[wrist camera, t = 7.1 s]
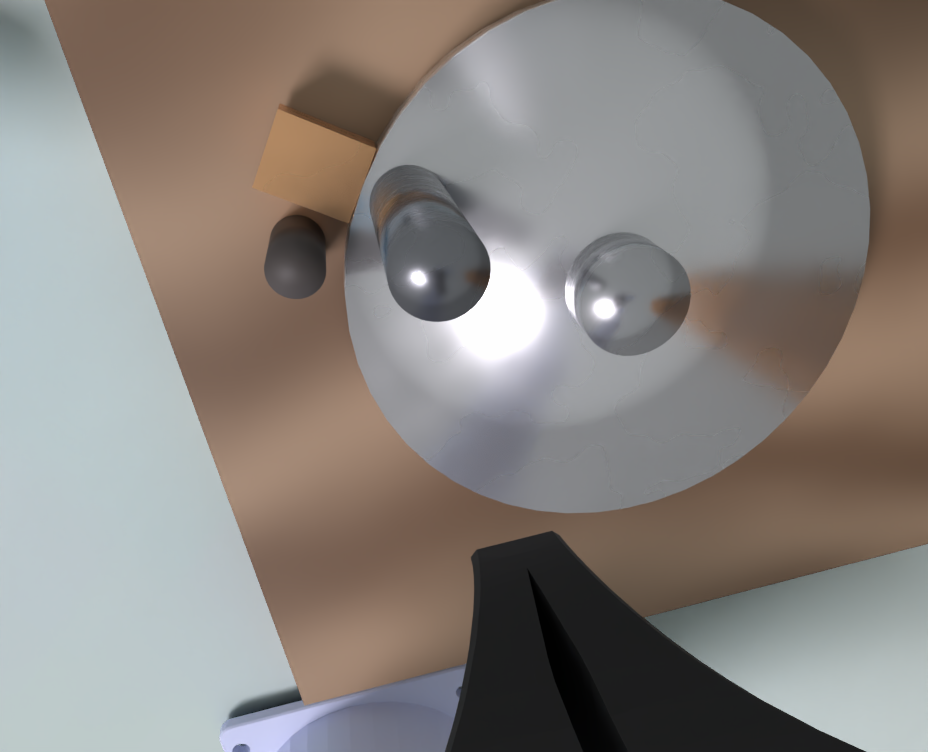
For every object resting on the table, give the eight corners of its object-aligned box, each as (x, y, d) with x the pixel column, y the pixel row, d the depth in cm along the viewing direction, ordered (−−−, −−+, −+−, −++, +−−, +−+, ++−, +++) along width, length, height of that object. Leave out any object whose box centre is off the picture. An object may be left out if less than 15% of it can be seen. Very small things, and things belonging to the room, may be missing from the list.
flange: (940, 124, 19) (1171, 169, 14) (692, 538, 23) (800, 693, 18) (370, -177, 15) (397, -273, 10) (186, 392, 19) (135, 539, 14)
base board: (920, 509, 26) (1005, 580, 23) (305, 667, 25) (303, 767, 22) (991, -370, 17) (1155, -461, 13) (-3, -194, 15) (-90, -247, 12)
